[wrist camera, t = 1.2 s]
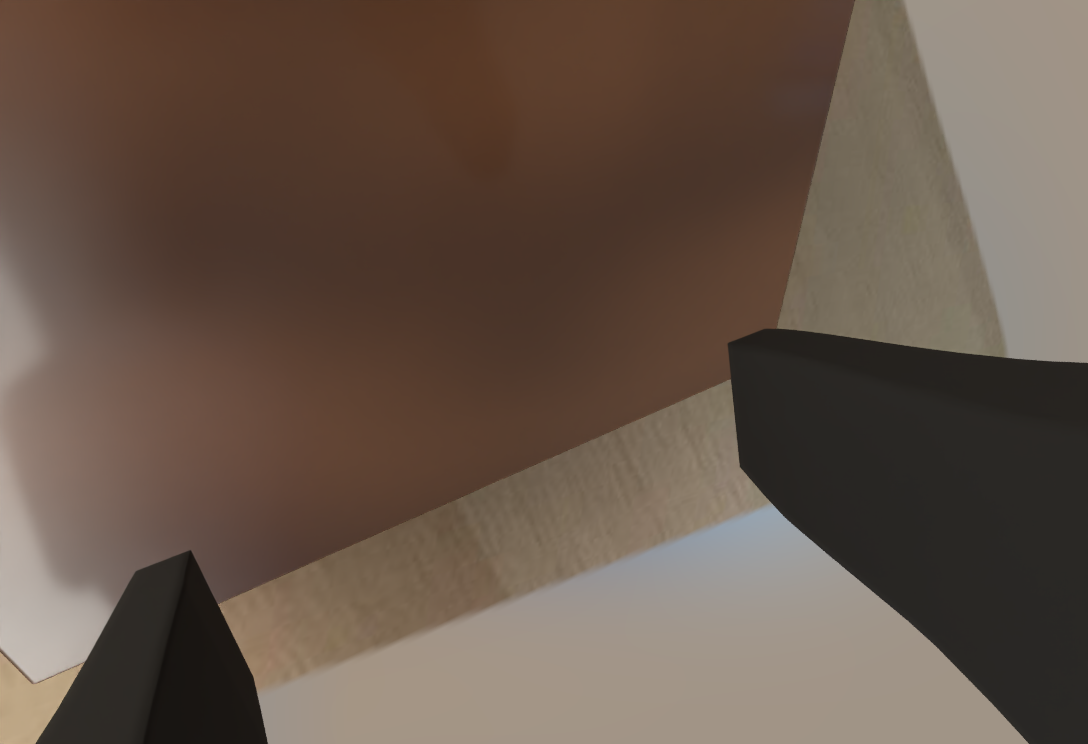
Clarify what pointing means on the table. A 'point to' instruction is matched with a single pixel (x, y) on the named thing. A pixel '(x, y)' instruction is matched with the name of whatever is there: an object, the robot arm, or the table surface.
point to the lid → (362, 262)
